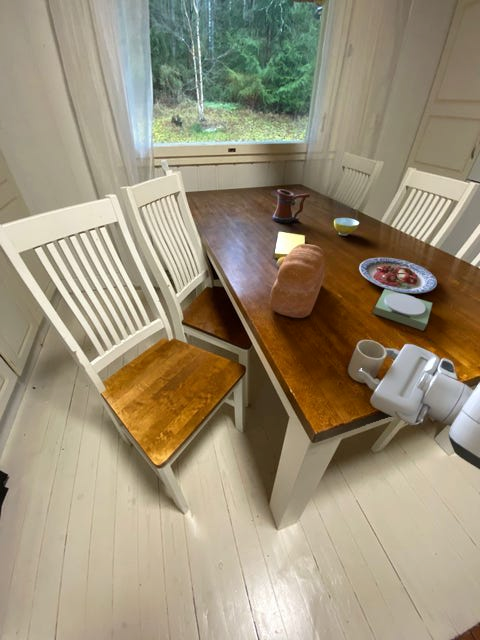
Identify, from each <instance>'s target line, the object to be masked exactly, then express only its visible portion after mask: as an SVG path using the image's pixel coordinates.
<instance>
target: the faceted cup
mask: <svg viewBox="0 0 480 640" xmlns="http://www.w3.org/2000/svg"><path fill="white" fill-rule="evenodd" d="M385 348H386V347H384V345H383V344H380V343H379V342H377V341H376V340H371V339H362V340H360V341H358V342H357V344H356V346H355V349H354V351H353V354H352V357H351V359H350V361H349V363H348V367H347V373H348V374H349V376H350V378H352V379H353V380H354V381H356V382H358V383H361V384H366V382H365V381H364V380H363V379H361V378H360V377H358V376H357V373H358V371H359V370H360V369H361V368H362V367H363V368H365V369H367V370H369V374H370V375H371V376H372V378H373V379H374V380H375V378H376V377H377V376H378V373H379V371H380V370H381V367H382V365H383V363H384V361H385V359H386V357H387V356H386V355H387V352H386V349H385Z"/></svg>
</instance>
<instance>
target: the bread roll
mask: <svg viewBox="0 0 480 640" xmlns="http://www.w3.org/2000/svg"><path fill="white" fill-rule="evenodd" d="M284 259H285V257H281V258H278V259H277V262H276V267H277V268H278V269H279V268H280V267H281V265H282V263H283V261H284Z"/></svg>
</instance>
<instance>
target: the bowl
mask: <svg viewBox="0 0 480 640" xmlns="http://www.w3.org/2000/svg"><path fill="white" fill-rule="evenodd" d="M359 224H360V221H358V220H356V219H355V218H349V217H337V218H335V219H333V227H334V229H335V230H336V231H337V232H338V235H340V236H344V237H345V236H349V234H351V233H353V232H354V231H356V230H357V228H358V227H359Z"/></svg>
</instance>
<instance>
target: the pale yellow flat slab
mask: <svg viewBox="0 0 480 640" xmlns="http://www.w3.org/2000/svg"><path fill="white" fill-rule="evenodd" d="M305 237H306V235H303V234H297V233H291V232H283V231H278V234H277V240H276V245H275V251H274V259H280V258H281V257H286V256H287V255H288V254H289V253H290V252H291V250H292V249H293V248H294V247H296V246H297V245H300V244H306V243H305V242H306V240H305Z"/></svg>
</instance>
